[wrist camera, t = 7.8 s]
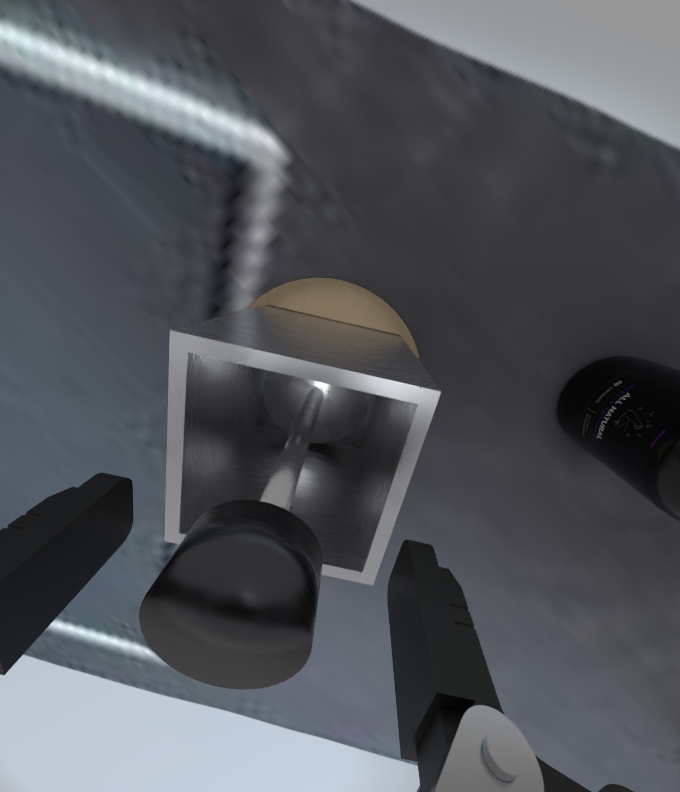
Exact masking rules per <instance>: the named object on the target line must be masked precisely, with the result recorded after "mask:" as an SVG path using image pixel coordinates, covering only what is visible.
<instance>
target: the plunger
mask: <svg viewBox="0 0 680 792" xmlns="http://www.w3.org/2000/svg"><path fill="white" fill-rule="evenodd" d="M263 398H264V402H265V406H266V408H267V411H268V413H269V415H270V416H271V418H272V419H273V421H274V422H275V423H276V424H277V426H278V427H280V428H281V429H282V430H283V431H284V432H286V433H287V434H289V437H288V439H287V441H286V444H285V446H284V448H283V450H282V452H281V455H280V457H279V459H278V461H277V463H276V466H275V468H274V470H273V472H272V474H271V477H270V479H269V481H268V483H267V485H266V488H265V490H264V492H263V494H262V496H261V499H260V501H256V500H234V501H229V502H225V503H222V504H218V505H216V506H214V507H212V508H210V509H209V510H207V511H206V512H204V513H203V514H202V515H201V516H200V517H199V518H198V519H197V521H196V522H195V523H194V525H193V526H192V528H191V529H190V531H189V532H188V533H187V535H186V536H185V538H184V539H183V541H182V542H181V544H180V545H179V547H178V548H177V550H176V551H175V553H174V554H173V556H172V557H171V559H170V560H169V561H168V563H167V564H166V566H165V567H164V569H163V570H162V572H161V573H160V575H159V576H158V578H157V579H156V581H155V582H154V584H153V585H152V586H151V588H150V589H149V591H148V592H147V594H146V595H145V597H144V599H143V601H142V604H141V607H140V613H139V620H140V627H141V630H142V633H143V635H144V637H145V639H146V641H147V643H148V644H149V646H150V647H151V648H152V650H153V651H154V652H155V653H156V654H157V655H158V656H159V657H160V658H161V659H162V660H163V661H164V662H166V663H167V664H168V665H170V666H171V667H172V668H174V669H175V670H177V671H179V672H180V673H182V674H184V675H186V676H188V677H190V678H193V679H195V680H197V681H200V682H203V683H206V684H209V685H214V686H218V687H223V688H230V689H258V688H264V687H269V686H272V685H276V684H279V683H281V682H283V681H286V680H287V679H289V678H291V677H292V676H294V675H295V674H296V673H298V672H299V671H300V670H301V669H302V667H303V666H304V665H305V663H306V662H307V660H308V658H309V656H310V653H311V648H312V641H313V634H314V626H315V618H316V611H317V603H318V595H319V588H320V580H321V573H322V565H323V555H322V550H321V547H320V544H319V541H318V540H317V538H316V536H315V534H314V533H313V531H312V530H311V529H310V528H309V527H308V526H307V524H306V523H305V522H303V521H302V520H301V519H300V518H299V517H297V516H296V515H294V514H293V513H291V512H289V509H290V506H291V502H292V499H293V496H294V493H295V489H296V486H297V483H298V479H299V476H300V473H301V470H302V466H303V463H304V460H305V457H306V453H307V450H308V447H309V444H310V443H328V442H333V441H336V440H339V439H341V438H343V437H345V436H347V435H348V434H350V433H351V432H353V431H354V430H355V429H356V428H357V427H358V426H359V425H360V423H361V422H362V420H363V419H364V417H365V415H366V413H367V410H368V407H369V402H370V393H366V392H362V391H357V390H353V389H348V388H344V387H339V386H335V385H331V384H326V383H322V382H317V381H313V380H308V379H304V378H299V377H295V376H291V375H286V374H282V373H277V372H273V371H268V370H267V372H266V375H265V378H264V383H263Z"/></svg>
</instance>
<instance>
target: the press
mask: <svg viewBox="0 0 680 792" xmlns="http://www.w3.org/2000/svg"><path fill="white" fill-rule="evenodd" d="M267 370H268V371H273V372H277V373H282V374H286V375H291V376H295V377H299V378H304V379H308V380H313V381H317V382H322V383H326V384H331V385H335V386H339V387H344V388H348V389H353V390H357V391H362V392H366V393H370V402H369V407H368V410H367V413H366V415H365V417H364V419H363V420H362V422H361V423H360V425H359V426H358V427H357V428H356V429H355V430H354V431H353V432H351V433H350V434H348V435H347V436H345V437H343V438H341V439H339V440H336V441H333V442H328V443H310V444H309V447H308V450H307V453H306V457H305V460H304V463H303V466H302V470H301V473H300V476H299V479H298V483H297V486H296V489H295V493H294V496H293V499H292V502H291V506H290V509H289V512H291V513H293V514H294V515H296V516H297V517H299V518H300V519H301V520H302V521H303V522H305V523H306V524H307V526H308V527H309V528H310V529H311V530H312V531H313V533H314V534H315V536H316V538H317V540H318V541H319V544H320V547H321V550H322V555H323V565H322V573H321V575H326V576H331V577H335V578H340V579H345V580H349V581H354V582H359V583H363V584H368V585H373V584H374V581H375V578H376V576H377V573H378V570H379V567H380V564H381V561H382V559H383V556H384V553H385V550H386V547H387V544H388V542H389V539H390V536H391V533H392V530H393V527H394V525H395V522H396V519H397V516H398V513H399V510H400V508H401V505H402V502H403V499H404V496H405V493H406V491H407V488H408V485H409V482H410V479H411V476H412V474H413V471H414V468H415V465H416V462H417V459H418V457H419V454H420V451H421V448H422V445H423V442H424V440H425V437H426V434H427V431H428V428H429V425H430V423H431V420H432V417H433V414H434V411H435V408H436V406H437V403H438V400H439V397H440V394H441V390H440V389H439V388H438V386H437V385H436V384H435V382H434V381H433V379H432V378H431V377H430V375H429V374H428V373H427V371H426V370H425V368H424V367H423V366H422V364H421V363H420V361H419V355H418V352H417V348H416V345H415V342H414V340H413V338H412V336H411V334H410V332H409V329H408V328H407V326H406V325H405V323H404V322H403V320H402V319H401V318H400V316H399V315H398V314H397V313H396V312H395V311H394V310H393V308H392V307H390V306H389V305H388V304H387V303H386V302H385V301H384V300H382V299H381V298H380V297H378V296H377V295H375V294H374V293H372V292H371V291H369V290H367V289H365V288H363V287H361V286H358V285H356V284H353V283H350V282H347V281H343V280H338V279H332V278H307V279H299V280H295V281H292V282H288V283H285V284H282V285H280V286H278V287H275V288H273V289H272V290H270V291H268V292H267V293H265V294H263V295H262V296H260V297H259V298H258V299H257V300H256V301H255V302H253V303H252V304H251V305H250V306H249V307H248V308H247V310H244V311H240V312H236V313H232V314H229V315H225V316H221V317H217V318H214V319H210V320H206V321H202V322H199V323H195V324H191V325H187V326H184V327H180V328H176V329H172V330H170V348H169V387H168V427H167V466H166V506H165V541H167V542H171V543H176V544H181V542H182V541H183V539H184V538H185V536H186V535H187V533H188V532H189V531H190V529H191V528H192V526H193V525H194V523H195V522H196V521H197V519H198V518H199V517H200V516H201V515H202V514H203V513H204V512H206V511H207V510H209V509H210V508H212V507H214V506H216V505H218V504H222V503H225V502H229V501H234V500H256V501H260V499H261V496H262V494H263V492H264V490H265V488H266V485H267V483H268V481H269V479H270V477H271V474H272V472H273V470H274V468H275V466H276V463H277V461H278V459H279V457H280V455H281V452H282V450H283V448H284V446H285V444H286V441H287V439H288V437H289V434H287V433H286V432H284V431H283V430H282V429H281V428H280V427H278V426H277V424H276V423H275V422H274V421H273V419H272V418H271V416H270V415H269V413H268V411H267V408H266V406H265V402H264V398H263V383H264V378H265V375H266V372H267Z"/></svg>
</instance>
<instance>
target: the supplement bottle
mask: <svg viewBox="0 0 680 792" xmlns="http://www.w3.org/2000/svg"><path fill="white" fill-rule="evenodd" d="M560 421H561V424H562V427H563V428H564V430H565V432H566V433H567V434H568V435H569V437H570V438H571V439H573V440H574V441H575V442H576V443H578V444H579V445H580V446H581V447H582V448H584V449H585V450H586V451H587V452H589V453H590V454H591V455H592V456H594V457H595V458H596V459H598V460H599V461H600V462H601V463H603V464H604V465H605V466H606V467H608V468H609V469H610V470H611V471H613V472H614V473H615V474H617V475H618V476H619V477H620V478H622V479H623V480H624V481H625V482H627V483H628V484H629V485H631V486H632V487H633V488H634V489H636V490H637V491H638V492H639V493H641V494H642V495H643V496H644V497H646V498H647V499H648V500H650V501H651V502H652V503H653V504H655V505H656V506H657V507H658V508H660V509H661V510H663V511H664V512H665V513H667V514H668V515H670V516H671V517H673V518H675V519H677V520H679V521H680V370H677V369H673V368H670V367H667V366H664V365H660V364H657V363H653V362H650V361H646V360H643V359H638V358H630V357H624V358H614V359H609V360H606V361H603V362H600V363H598V364H595V365H593V366H591V367H590V368H588V369H586V370H585V371H584V372H582V373H581V374H580V375H578V376H577V377H576V378H575V379H574V380H573V381H572V383H571V384H570V385H569V386H568V388H567V389H566V391H565V393H564V395H563V397H562V400H561V404H560Z"/></svg>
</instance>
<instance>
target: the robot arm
mask: <svg viewBox="0 0 680 792" xmlns="http://www.w3.org/2000/svg"><path fill="white" fill-rule="evenodd" d="M132 524H133V485H132V481H131V479H129V478H125V477H120V476H116V475H111V474H107V473H98V474H96V475H95V476H93V477H92V478H90V479H89V480H88V481H86V482H85V483H84V484H82V485H81V486H80V487H78V488H76V487H71V488H69V489H66V490H64V491H62V492H59V493H57V494H55V495H52V496H50V497H48V498H46V499H45V500H43V501H42V502H40V503H39V504H38V505H36V506H35V507H33V508H32V509H30V510H29V511H27V513H26V515H22V516H20V517H19V518H17V519H16V520H15V521H13V522H12V523H10V524H9V525H8V527H7V528H6V529H5V528H3V529H2V530H0V674H1V675H5V674H6V673H7V671H8V670H9V669H10V668H11V667H12V666H13V665H14V664H15V663H16V661H17V660H18V659H19V658H20V657H21V656H22V655H23V654H24V653H25V652H26V650H27V649H28V648H29V647H30V646H31V645H32V644H33V643H34V642H35V640H36V639H37V638H38V637H39V636H40V635H41V634H42V633H43V632H44V630H45V629H46V628H47V627H48V626H49V625H50V624H51V623H52V622H53V620H54V619H55V618H56V617H57V616H58V615H59V614H60V613H61V612H62V610H63V609H64V608H65V607H66V606H67V605H68V604H69V603H70V601H71V600H72V599H73V598H74V597H75V596H76V595H77V594H78V593H79V591H80V590H81V589H82V588H83V587H84V586H85V585H86V584H87V583H88V581H89V580H90V579H91V578H92V577H93V576H94V575H95V574H96V573H97V571H98V570H99V569H100V568H101V567H102V566H103V565H104V564H105V563H106V561H107V560H108V559H109V558H110V557H111V556H112V555H113V554H114V553H115V551H116V550H117V549H118V548H119V547H120V546H121V545H122V544H123V542H124V541H125V540H126V538H127V536H128V535H129V533H130V530H131V528H132ZM387 597H388V612H389V623H390V635H391V647H392V658H393V670H394V681H395V693H396V705H397V716H398V728H399V740H400V751H401V758H402V759H407V760H412V761H417V762H418V770H419V778H420V786H419V788H418V790H417V792H591V791H589V790H588V789H586V788H584V787H583V786H581V785H580V784H578V783H576V782H575V781H573V780H571V779H570V778H568V777H567V776H565V775H563V774H562V773H560V772H559V771H557V770H555V769H554V768H552V767H550V766H549V765H547V764H546V763H545V762H543V761H542V760H540V759H539V758H538V757H537V756H536V755H535V754H534V752H533V750H532V748H531V747H530V745H529V743H528V741H527V740H526V738H525V737H524V736H523V734H522V733H521V732H520V730H519V729H518V728H517V727H516V726H515V725H514V724H513V723H512V721H511V720H510V719H508V718H507V717H506V716H505V715H504V713H503V711H502V708H501V706H500V703H499V700H498V697H497V694H496V691H495V688H494V685H493V682H492V679H491V676H490V673H489V670H488V667H487V664H486V661H485V658H484V655H483V652H482V649H481V646H480V642H479V639H478V636H477V633H476V630H474V624H473V621H472V618H471V615H470V612H468V606H467V603H466V600H465V597H464V594H463V591H462V588H461V586H460V585H459V583H458V582H457V580H456V579H455V578H454V576H453V575H452V573H451V572H450V570H449V569H447V568H442V567H439V566H438V562H437V559H436V555H435V551H434V548H433V547H432V545H429V544H425V543H420V542H415V541H411V540H404V542H403V544H402V546H401V549H400V552H399V554H398V557H397V560H396V562H395V565H394V568H393V570H392V573H391V576H390V579H389V584H388V596H387ZM599 792H633V791H631V790H630V789H628V788H626V787H623V786H621V785H616V784H609V785H606V786H604V787H603V788H602V789H601V790H600V791H599Z"/></svg>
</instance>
